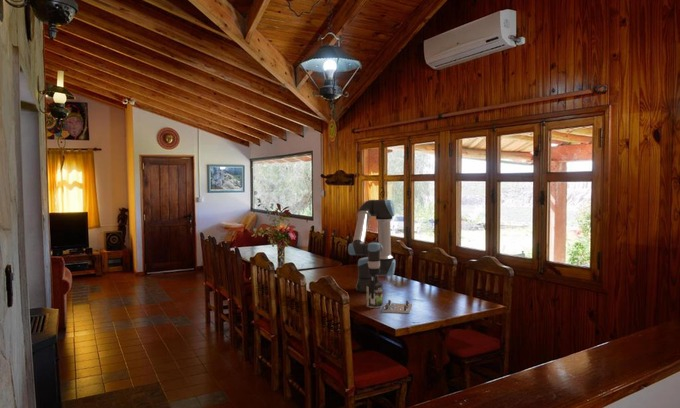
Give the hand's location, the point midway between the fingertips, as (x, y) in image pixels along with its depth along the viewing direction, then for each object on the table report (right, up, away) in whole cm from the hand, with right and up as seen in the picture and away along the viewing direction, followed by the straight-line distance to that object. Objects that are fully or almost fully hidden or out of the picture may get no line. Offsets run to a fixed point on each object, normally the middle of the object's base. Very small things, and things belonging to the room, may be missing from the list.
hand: (374, 301), depth 313 cm
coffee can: (0, -3, 0) cm, 3 cm away
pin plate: (+13, -3, -9) cm, 16 cm away
